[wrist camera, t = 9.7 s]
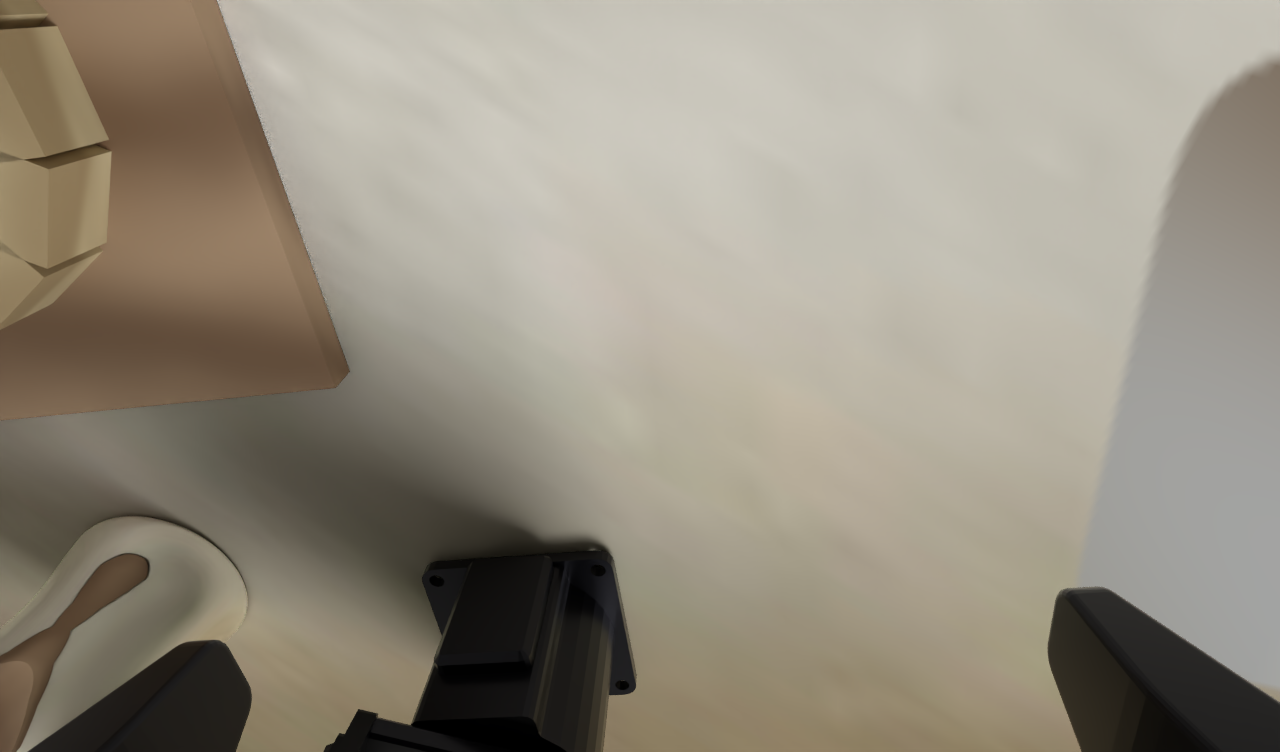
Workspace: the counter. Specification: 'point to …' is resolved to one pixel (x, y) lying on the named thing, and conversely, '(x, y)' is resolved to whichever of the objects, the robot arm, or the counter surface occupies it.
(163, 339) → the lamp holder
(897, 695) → the counter surface
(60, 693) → the beer glass
